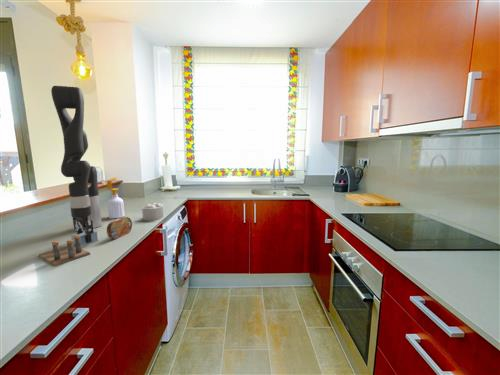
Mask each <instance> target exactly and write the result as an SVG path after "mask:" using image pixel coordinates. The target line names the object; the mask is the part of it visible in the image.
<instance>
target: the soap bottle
mask: <svg viewBox="0 0 500 375" xmlns="http://www.w3.org/2000/svg"><path fill="white" fill-rule="evenodd" d="M117 179H118V178H116V177H112V178H110V179H108V180H107V182H106V185H107V190H109V191H111V192H112V193H111V198H109V199H108V200H107V204H106V205H107V207H106V208H107V213H108V214H107V215H108V219H114V218H116V219H120V218H123V217H126V216H125V215H126V214H125V205H124V200H123V199H122V198H121V197H119V194H118V193H117V192H118V191H119V190H120V189H119V188H113V187H112V182H114V181H116V180H117Z"/></svg>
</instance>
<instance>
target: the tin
mask: <svg viewBox="0 0 500 375" xmlns="http://www.w3.org/2000/svg"><path fill="white" fill-rule="evenodd" d="M106 226H107V227H106V234H107V236H108V237H107V238H110V239H116V240H117V239H119V238H122V237H124V236H125V235H127V234H129V233H130V232H131V230H132V227H133V222H132V219H131V218H130V217H128V216H124V217H121V218H116V219H115V220H113V221H110V222H109V223H108V224H107V225H106Z"/></svg>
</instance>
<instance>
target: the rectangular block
mask: <svg viewBox="0 0 500 375" xmlns="http://www.w3.org/2000/svg"><path fill="white" fill-rule="evenodd" d="M93 231H94V233H92V234H91V239H92V242H90V243H86V240H85V234H84V232H83V233H80V234H77V233H76V234H73V235H70V238H71V239H70V240H73V245H74V246H75V239H74V236H78V235H79V236H80V242H81V246H83V245H87V244H91V243H95V242H97V241H98V232H97V231H95V230H93Z"/></svg>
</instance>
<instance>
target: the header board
mask: <svg viewBox="0 0 500 375" xmlns="http://www.w3.org/2000/svg"><path fill="white" fill-rule="evenodd" d="M74 239H75V246H74V245H73V240H71V239H68V240H66V244H67V245H65V246H63V247H60V245H59V242H60V241H58V240H55V241H52V242H51V245H52V250H49V251H45V252H42V253H38V257H40V258H41V259H43V260H45V261H46V262H47V263H49V264H51V265H52V266H55V267H56V266H58V265H62V264H65V263H68V262H71V261H74V260H77V259H80V258H84V257H86V256H90V255H91V252H90V251H88V250H86V249H83V248H82V245H81V242H80V236H79V235H78V236H74Z"/></svg>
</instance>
